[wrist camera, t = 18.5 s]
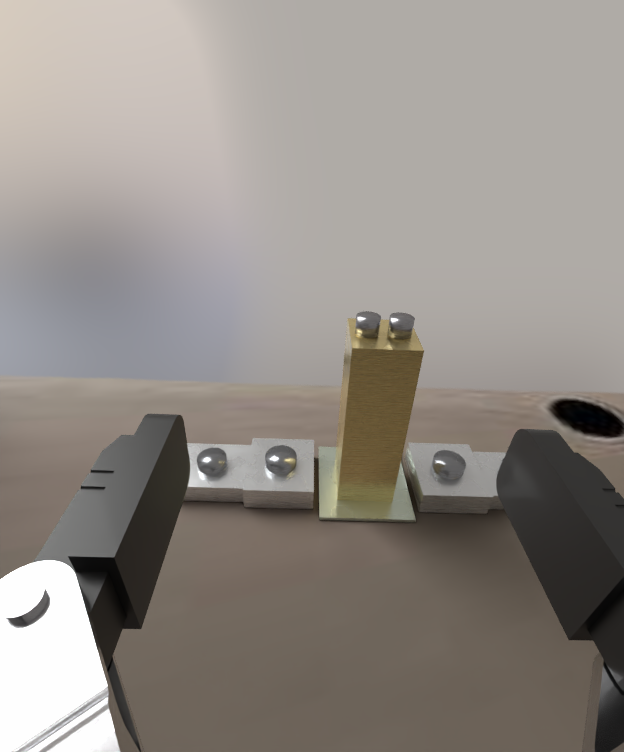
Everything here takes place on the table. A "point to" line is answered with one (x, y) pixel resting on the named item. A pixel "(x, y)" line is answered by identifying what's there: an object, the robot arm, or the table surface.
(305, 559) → the table surface
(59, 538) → the robot arm
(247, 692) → the table surface
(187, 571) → the table surface
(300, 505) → the studded plate chain
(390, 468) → the tall studded toy brick
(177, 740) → the table surface
